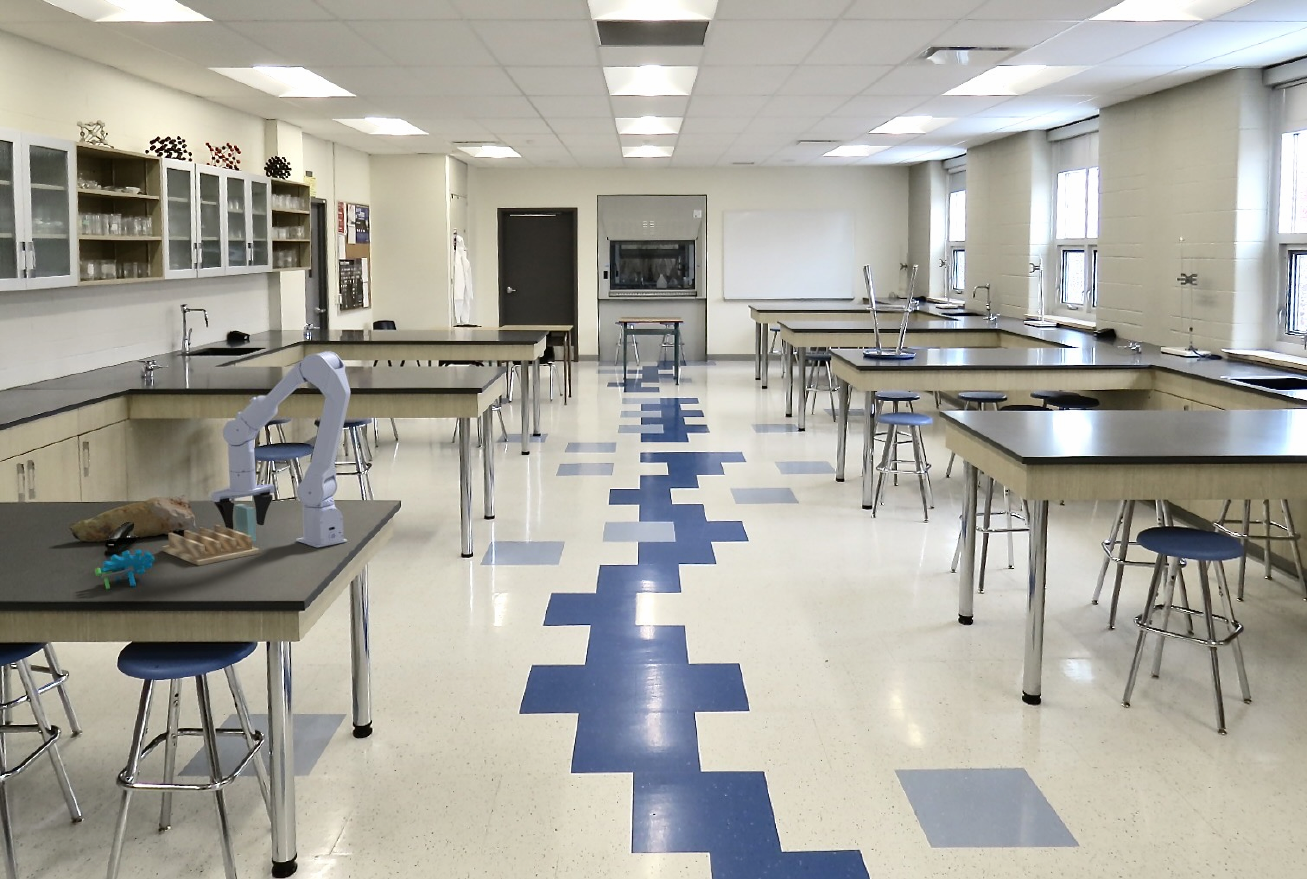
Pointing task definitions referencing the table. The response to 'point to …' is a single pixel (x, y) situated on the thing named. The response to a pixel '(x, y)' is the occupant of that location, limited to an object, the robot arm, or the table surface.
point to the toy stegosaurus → (125, 566)
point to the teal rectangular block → (245, 520)
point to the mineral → (139, 519)
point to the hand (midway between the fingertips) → (245, 527)
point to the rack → (210, 545)
